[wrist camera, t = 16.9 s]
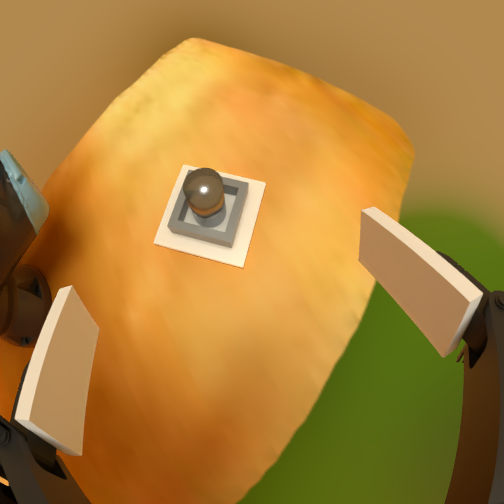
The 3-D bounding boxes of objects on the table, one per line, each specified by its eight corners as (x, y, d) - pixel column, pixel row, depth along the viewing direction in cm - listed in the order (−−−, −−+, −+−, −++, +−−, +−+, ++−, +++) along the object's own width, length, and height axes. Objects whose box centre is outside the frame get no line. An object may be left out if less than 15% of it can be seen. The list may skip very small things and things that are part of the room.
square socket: (154, 244, 41) (147, 237, 38) (184, 166, 45) (180, 154, 41) (242, 268, 41) (243, 263, 37) (265, 185, 44) (267, 173, 41)
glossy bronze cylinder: (189, 223, 41) (176, 198, 33) (199, 194, 43) (190, 164, 34) (220, 231, 41) (216, 207, 33) (230, 201, 43) (228, 172, 34)
